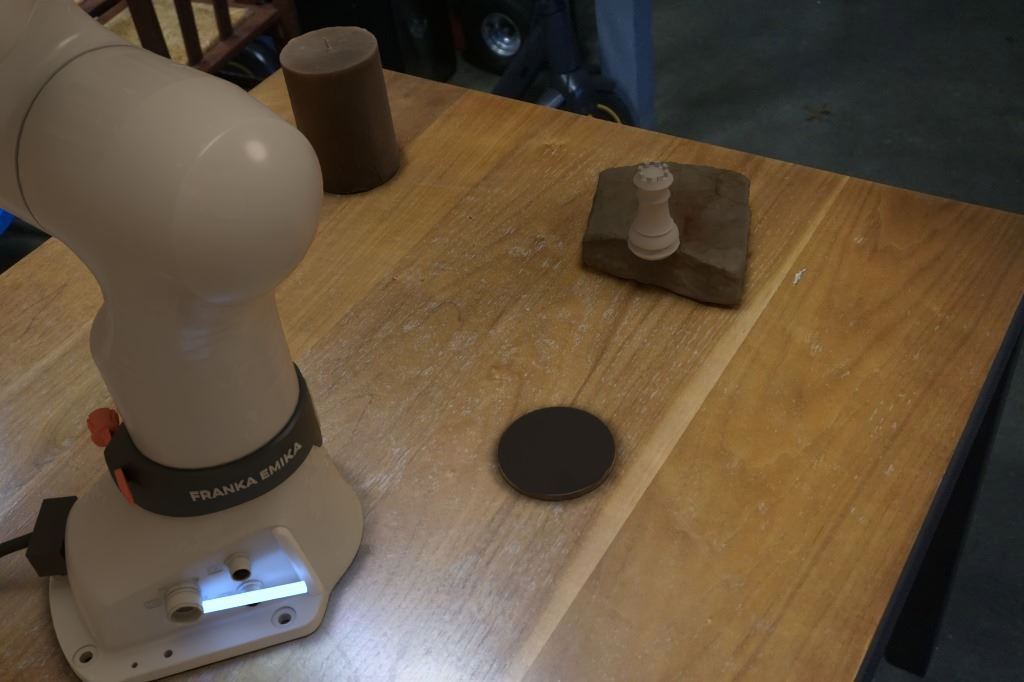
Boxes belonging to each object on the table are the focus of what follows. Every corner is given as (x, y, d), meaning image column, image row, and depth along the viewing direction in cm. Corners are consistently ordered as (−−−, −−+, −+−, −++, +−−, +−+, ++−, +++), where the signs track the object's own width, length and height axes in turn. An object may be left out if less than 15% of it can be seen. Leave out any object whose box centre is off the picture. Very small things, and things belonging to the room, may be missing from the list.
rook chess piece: (688, 238, 95) (690, 161, 90) (665, 268, 93) (665, 190, 87) (642, 225, 97) (641, 148, 92) (618, 253, 94) (615, 176, 89)
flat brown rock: (741, 310, 94) (744, 273, 91) (572, 296, 97) (569, 260, 95) (755, 195, 106) (758, 159, 103) (604, 187, 109) (602, 151, 106)
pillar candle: (370, 201, 111) (341, 68, 100) (290, 184, 114) (255, 53, 104) (417, 150, 117) (394, 19, 107) (340, 135, 120) (310, 7, 110)
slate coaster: (531, 519, 80) (531, 513, 79) (478, 439, 86) (477, 434, 85) (638, 469, 82) (638, 464, 82) (578, 395, 88) (578, 390, 88)
